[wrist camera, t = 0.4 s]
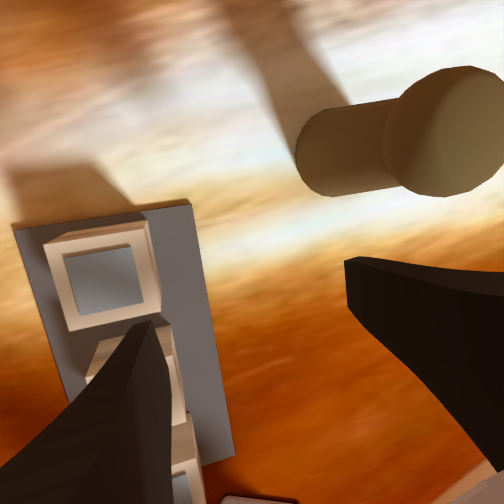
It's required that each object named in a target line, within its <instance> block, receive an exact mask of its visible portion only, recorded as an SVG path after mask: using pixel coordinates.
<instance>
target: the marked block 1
mask: <svg viewBox="0 0 504 504" xmlns="http://www.w3.org/2000/svg"><path fill="white" fill-rule="evenodd" d="M43 246H44V250H45V253H46V256H47V259H48V263H49V266H50V269H51V273H52V276H53V279H54V283H55V286H56V289H57V293H58V296H59V299H60V302H61V306H62V309H63V312H64V316H65V319H66V322H67V326H68V329H69V332H70V331H74V330H79V329H83V328H88V327H92V326H97V325H101V324H106V323H111V322H115V321H120V320H124V319H129V318H133V317H138V316H142V315H147V314H151V313H156V312H160V311H161V294H162V287H161V282H160V277H159V273H158V268H157V263H156V258H155V254H154V249H153V244H152V239H151V235H150V230H149V225H148V220H142V221H136V222H129V223H123V224H116V225H110V226H103V227H97V228H90V229H84V230H77V231H71V232H67V233H65V234H63V235H61V236H59V237H57V238H55V239H54V240H52V241H50V242H48V243H46V244H44V245H43Z"/></svg>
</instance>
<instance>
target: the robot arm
mask: <svg viewBox="0 0 504 504" xmlns="http://www.w3.org/2000/svg"><path fill="white" fill-rule="evenodd" d="M344 268H345V280H346V292H347V304H348V308H349V309H350V311H351V312H352V313H353V315H354V316H355V317H356V318H357V319H358V321H359V322H360V323H361V324H362V325H363V327H365V328H366V329H367V330H368V331H369V332H370V333H371V334H372V335H373V336H374V337H375V338H376V339H377V340H378V341H380V342H381V343H382V344H383V345H384V346H385V347H386V348H387V349H388V350H389V351H391V352H392V353H393V354H394V355H395V356H396V357H397V358H398V359H399V360H401V361H402V362H403V363H404V364H405V365H406V366H407V367H408V368H409V369H410V370H411V371H412V372H413V373H414V374H415V375H416V376H417V377H418V378H419V379H420V380H421V381H422V382H423V383H424V384H425V385H426V386H427V388H428V389H429V390H430V391H431V392H432V393H433V394H434V395H435V396H436V398H437V399H438V400H439V401H440V402H441V403H442V404H443V406H444V407H445V408H446V409H447V410H448V411H449V413H450V414H451V415H452V416H453V417H454V419H455V420H456V421H457V422H458V423H459V424H460V426H461V427H462V428H463V429H464V431H465V432H466V433H467V434H468V436H469V437H470V438H471V439H472V441H473V442H474V443H475V444H476V446H477V447H478V448H479V449H480V451H481V452H482V453H483V454H484V456H485V457H486V458H487V459H488V461H489V462H490V463H491V465H492V466H493V467H494V469H495V470H496V471H497V474H495V475H493V476H491V477H489V478H487V479H485V480H483V481H481V482H479V483H478V484H476V485H475V486H474V487H472V488H471V489H469V490H468V491H466V492H465V493H463V494H462V495H461V496H459V497H458V498H456V499H455V500H454V501H452V502H451V503H449V504H504V272H483V271H468V270H455V269H446V268H438V267H430V266H423V265H416V264H410V263H404V262H398V261H392V260H386V259H380V258H373V257H362V256H358V257H355V258H351V259H348V260H345V261H344ZM171 446H172V390H171V382H170V374H169V367H168V364H167V361H166V359H165V356H164V353H163V350H162V347H161V345H160V342H159V339H158V336H157V334H156V331H155V328H154V325H153V322H152V320H147V321H144V322H141V323H137V324H134V325H132V327H131V328H130V329H129V330H128V332H127V333H126V335H125V336H124V338H123V339H122V340H121V342H120V343H119V345H118V346H117V347H116V349H115V350H114V351H113V353H112V354H111V356H110V357H109V358H108V360H107V361H106V362H105V364H104V365H103V366H102V367H101V369H100V370H99V371H98V372H97V374H96V375H95V376H94V377H93V378H92V380H91V381H90V382H89V383H88V385H87V386H86V387H85V388H84V389H83V391H82V392H81V393H80V394H79V395H78V396H77V397H76V398H75V399H74V400H73V402H72V403H71V404H70V405H69V406H68V407H67V408H66V409H65V410H64V411H63V412H62V413H61V414H60V415H59V416H58V417H57V418H56V419H55V420H54V421H53V422H52V423H51V424H50V425H49V426H47V427H46V428H45V429H44V430H43V431H42V432H41V433H40V434H39V435H37V436H36V437H35V438H34V439H33V440H32V441H31V442H30V443H29V444H28V445H26V446H25V447H24V448H23V449H22V450H21V451H20V452H19V453H18V454H16V455H15V456H14V457H13V458H12V459H10V460H9V461H8V462H7V463H6V464H4V465H3V466H2V467H1V468H0V504H174V497H173V486H172V467H171ZM221 504H291V503H283V502H275V501H268V500H260V499H252V498H244V497H236V496H226V497H224V498H223V500H222V502H221Z"/></svg>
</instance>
